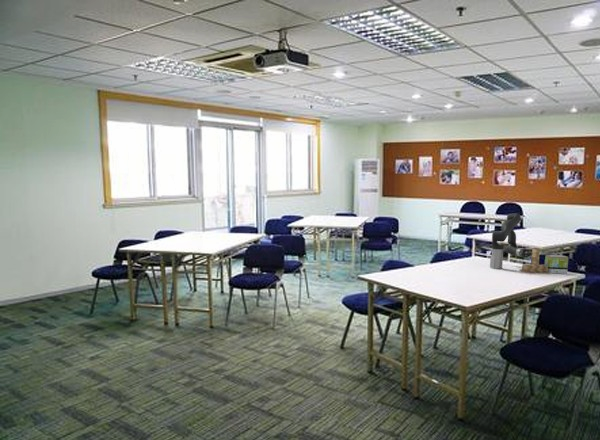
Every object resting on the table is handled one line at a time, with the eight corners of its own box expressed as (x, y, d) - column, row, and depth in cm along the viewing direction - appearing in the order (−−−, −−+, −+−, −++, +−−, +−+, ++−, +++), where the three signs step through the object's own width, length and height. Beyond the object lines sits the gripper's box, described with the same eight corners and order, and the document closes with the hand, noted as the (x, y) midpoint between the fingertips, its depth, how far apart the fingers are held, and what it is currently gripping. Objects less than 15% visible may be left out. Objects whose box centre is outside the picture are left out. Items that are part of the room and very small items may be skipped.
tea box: (551, 273, 390) (552, 256, 389) (543, 271, 400) (544, 254, 399) (567, 273, 392) (568, 256, 391) (559, 271, 402) (560, 254, 401)
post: (534, 265, 392) (535, 249, 391) (531, 264, 396) (532, 248, 395) (538, 265, 392) (539, 249, 392) (535, 264, 396) (536, 248, 396)
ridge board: (529, 273, 386) (529, 266, 386) (519, 270, 399) (519, 263, 399) (550, 273, 390) (550, 266, 389) (539, 270, 403) (540, 263, 402)
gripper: (515, 248, 409) (527, 250, 393) (530, 248, 412) (542, 251, 396) (514, 256, 410) (526, 259, 394) (529, 256, 412) (541, 259, 396)
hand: (534, 255), depth 395 cm, fingers open, 8 cm apart
